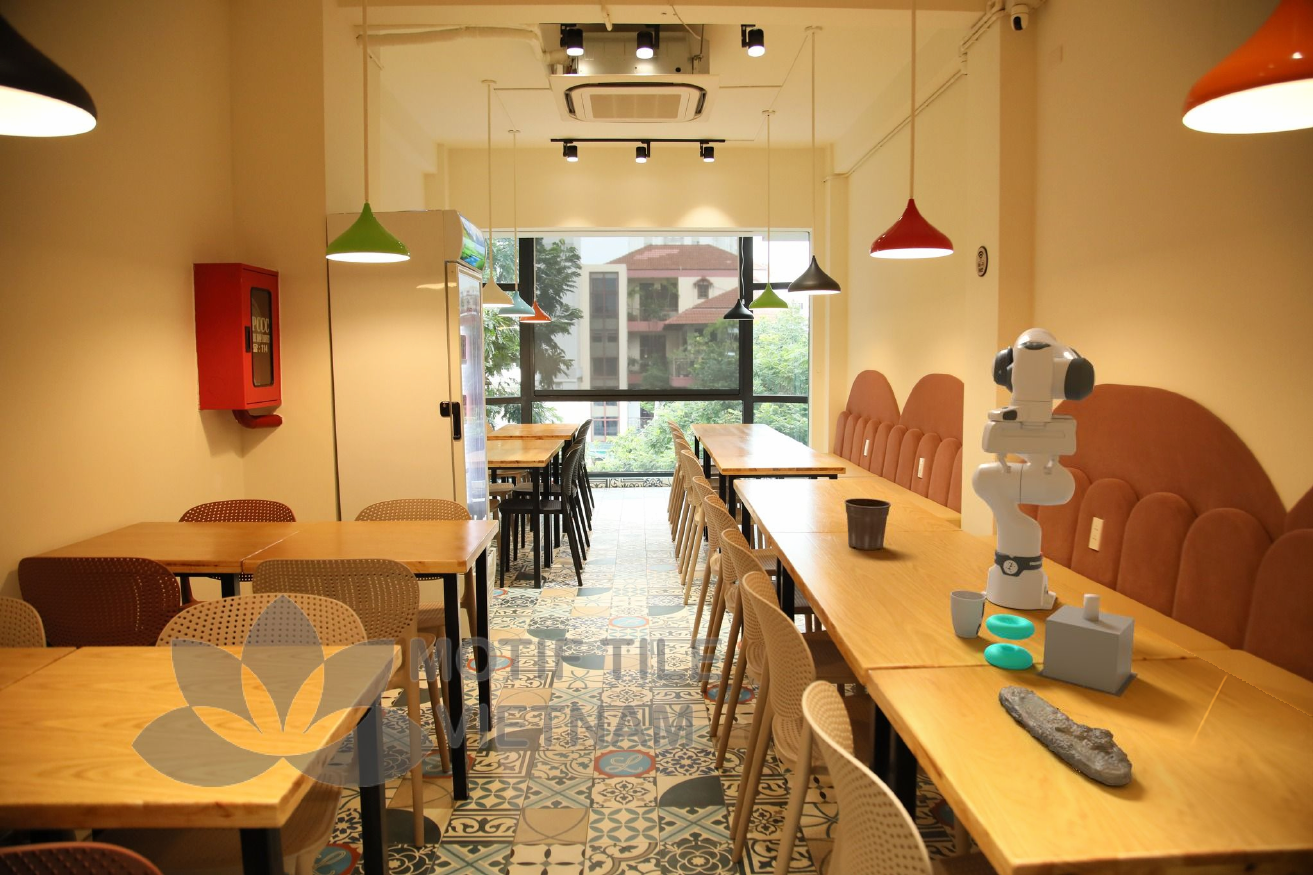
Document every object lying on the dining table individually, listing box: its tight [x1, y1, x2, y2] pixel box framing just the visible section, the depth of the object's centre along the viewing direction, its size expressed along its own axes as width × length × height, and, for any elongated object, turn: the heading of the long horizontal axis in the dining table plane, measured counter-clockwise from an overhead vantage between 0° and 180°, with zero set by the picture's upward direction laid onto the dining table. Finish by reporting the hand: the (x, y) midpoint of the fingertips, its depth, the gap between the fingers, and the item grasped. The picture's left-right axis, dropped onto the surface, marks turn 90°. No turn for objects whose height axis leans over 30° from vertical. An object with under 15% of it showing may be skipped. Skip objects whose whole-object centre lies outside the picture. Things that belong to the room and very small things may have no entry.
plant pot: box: [844, 497, 892, 551], centre depth 288 cm, size 16×16×16 cm
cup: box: [949, 589, 987, 639], centre depth 197 cm, size 8×8×10 cm
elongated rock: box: [998, 685, 1133, 786], centre depth 144 cm, size 35×5×10 cm
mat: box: [1035, 668, 1139, 698], centre depth 172 cm, size 16×16×1 cm
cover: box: [1042, 593, 1136, 693], centre depth 171 cm, size 14×14×17 cm
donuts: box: [983, 614, 1036, 670], centre depth 179 cm, size 10×10×10 cm
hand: (1026, 473), depth 184 cm, fingers open, 8 cm apart
